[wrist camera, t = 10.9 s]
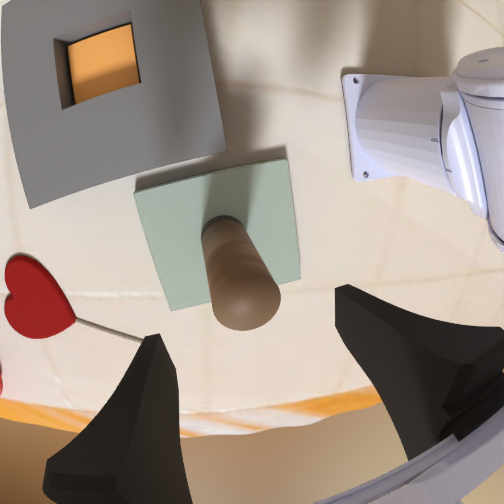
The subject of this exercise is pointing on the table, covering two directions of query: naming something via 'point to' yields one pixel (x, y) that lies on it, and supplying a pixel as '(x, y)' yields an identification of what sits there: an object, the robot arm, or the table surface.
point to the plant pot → (1, 385)
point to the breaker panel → (110, 104)
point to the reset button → (104, 63)
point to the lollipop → (40, 302)
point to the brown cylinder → (237, 276)
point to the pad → (212, 205)
